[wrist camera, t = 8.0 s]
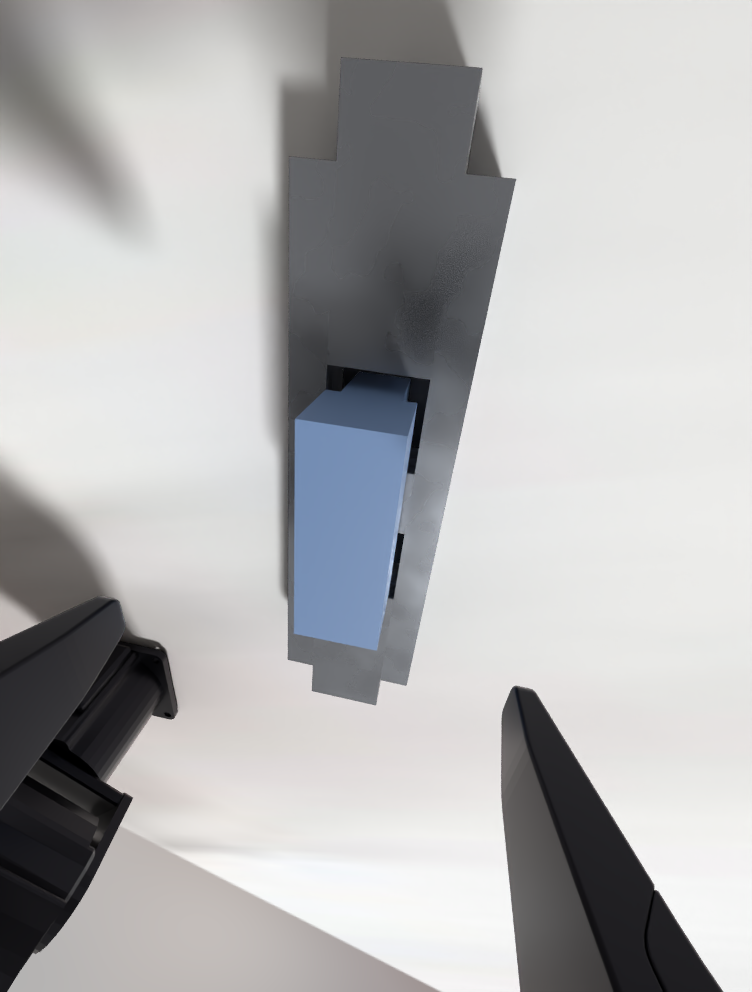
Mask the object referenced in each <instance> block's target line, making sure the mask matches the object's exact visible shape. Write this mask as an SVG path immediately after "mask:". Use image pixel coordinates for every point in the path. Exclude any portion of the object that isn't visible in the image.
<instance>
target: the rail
mask: <svg viewBox="0 0 752 992" xmlns="http://www.w3.org/2000/svg"><path fill="white" fill-rule="evenodd" d="M481 77H482V68H477V67H463V66H450V65H437V64H423V63H410V62H397V61H383V60H370V59H357V58H343V57H341V72H340V94H339V115H338V137H337V158H336V161H331V160H321V159H311V158H301V157H291V156H289V440H288V660H292V661H296V662H301V663H305V664H310V665H313V677H312V691H315V692H319V693H323V694H328V695H332V696H337V697H341V698H346V699H350V700H354V701H359V702H363V703H368V704H372V705H376V702H377V697H378V692H379V686H380V681H381V680H383V681H387V682H392V683H396V684H401V685H405V686H406V685H407V681H408V676H409V671H410V667H411V662H412V658H413V653H414V648H415V644H416V639H417V634H418V630H419V625H420V621H421V616H422V611H423V607H424V602H425V597H426V593H427V588H428V584H429V579H430V574H431V570H432V565H433V560H434V556H435V551H436V547H437V542H438V537H439V533H440V528H441V523H442V519H443V514H444V510H445V505H446V500H447V496H448V491H449V486H450V482H451V477H452V473H453V468H454V463H455V459H456V454H457V449H458V445H459V440H460V436H461V431H462V426H463V422H464V417H465V412H466V408H467V403H468V399H469V394H470V389H471V385H472V380H473V376H474V371H475V366H476V362H477V357H478V352H479V348H480V343H481V339H482V334H483V329H484V325H485V320H486V315H487V311H488V306H489V302H490V297H491V292H492V288H493V283H494V278H495V274H496V269H497V265H498V260H499V255H500V251H501V246H502V241H503V237H504V232H505V228H506V223H507V218H508V214H509V209H510V204H511V200H512V195H513V191H514V186H515V181H516V179H512V178H502V177H492V176H482V175H472V174H466V173H467V167H468V161H469V155H470V149H471V144H472V138H473V132H474V126H475V120H476V114H477V108H478V102H479V93H480V85H481ZM344 367H347V368H354V369H361V370H368V371H374V372H381V373H388V374H395V375H401V376H408V377H415V378H422V379H428V380H430V385H429V391H428V397H427V403H426V409H425V415H424V421H423V427H422V433H421V439H420V445H419V448H415V447H411V449H410V455H409V462H408V469H407V475H406V482H405V489H404V495H403V502H402V509H401V515H400V522H399V529H398V533H401V534H405V535H404V541H403V546H402V552H401V558H400V563H395V562H393V568H392V575H391V582H390V588H389V595H388V599H387V604H386V609H385V614H384V618H383V623H382V628H381V633H380V638H379V642H378V647H377V651H376V650H371V649H366V648H361V647H356V646H351V645H347V644H342V643H337V642H332V641H327V640H322V639H317V638H313V637H308V636H303V635H298V634H294V513H295V418H296V417H297V416H298V415H300V414H301V413H302V412H303V411H304V410H305V409H306V408H307V407H308V406H309V405H310V404H311V403H312V402H313V401H314V400H315V399H316V398H317V397H318V396H319V395H320V394H321V393H323V392H324V391H325V390H332V391H339V392H341V391H342V386H343V371H344Z"/></svg>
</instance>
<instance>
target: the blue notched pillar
mask: <svg viewBox="0 0 752 992" xmlns="http://www.w3.org/2000/svg"><path fill="white" fill-rule="evenodd" d="M410 381H411V379H410V378H403V377H396V376H388V375H381V374H374V373H367V372H360V371H359V372H358V373H357V374H356V375H355V377H354V378H353V379H352V380H351V381H350V382H349V383H348V384H347V385H346V386H345V388H344V389H343V390H342V391H341V392H339V391H332V390H325V391H324V392H323V393H321V394H320V395H319V396H318V397H317V398H316V399H315V400H314V401H313V402H312V403H311V404H310V405H309V406H308V407H307V408H306V409H305V410H304V411H303V412H302V413H301V414H300V415H298V416H297V417H296V418H295V513H294V634H298V635H303V636H308V637H313V638H317V639H322V640H327V641H332V642H337V643H342V644H347V645H351V646H356V647H361V648H366V649H371V650H376V651H377V647H378V642H379V638H380V633H381V628H382V623H383V618H384V614H385V609H386V604H387V599H388V595H389V588H390V582H391V575H392V568H393V562H394V555H395V549H396V542H397V535H398V529H399V522H400V515H401V509H402V502H403V495H404V489H405V482H406V475H407V469H408V462H409V455H410V449H411V442H412V436H413V429H414V422H415V416H416V409H417V403H414V402H408V395H409V388H410Z"/></svg>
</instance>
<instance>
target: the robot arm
mask: <svg viewBox="0 0 752 992" xmlns="http://www.w3.org/2000/svg"><path fill="white" fill-rule="evenodd" d="M124 630H125V620H124V616H123V613H122V609H121V605H120V602H119V601H118V600H117V599H114V598H109V597H105V596H99V597H96V598H94V599H91V600H89V601H87V602H85V603H83V604H81V605H78V606H76V607H74V608H72V609H70V610H68V611H65V612H63V613H61V614H59V615H57V616H55V617H52V618H50V619H48V620H46V621H44V622H41V623H39V624H37V625H35V626H33V627H31V628H28V629H26V630H24V631H22V632H20V633H18V634H15V635H13V636H11V637H9V638H7V639H5V640H2V641H0V992H7V991H8V989H9V988H10V986H11V985H12V983H13V981H14V980H15V978H16V976H17V975H18V973H19V971H20V970H21V969H22V967H23V966H24V965H25V963H26V962H27V960H28V959H29V957H30V956H31V954H32V953H35V954H36V953H38V952H40V951H41V950H42V949H44V948H45V947H46V946H47V945H48V944H49V943H50V942H51V940H52V939H53V938H54V937H55V936H56V935H57V933H58V932H59V931H60V930H61V928H62V927H63V926H64V924H65V923H66V922H67V920H68V919H69V917H70V916H71V914H72V913H73V912H74V910H75V908H76V907H77V905H78V904H79V902H80V901H81V899H82V897H83V896H84V894H85V892H86V891H87V889H88V887H89V885H90V883H91V881H92V879H93V878H94V876H95V874H96V872H97V869H98V868H99V866H100V864H101V861H102V859H103V857H104V856H105V853H106V851H107V849H108V847H109V845H110V843H111V841H112V839H113V837H114V835H115V833H116V831H117V829H118V827H119V825H120V823H121V821H122V819H123V817H124V815H125V813H126V811H127V809H128V807H129V805H130V803H131V801H132V799H133V797H131V796H130V795H128V794H126V793H123V794H122V793H121V792H119V791H118V790H116V789H114V788H113V787H111V786H110V785H108V784H106V782H107V780H108V779H109V778H110V776H111V775H112V773H113V772H114V770H115V769H116V767H117V766H118V764H119V763H120V761H121V760H122V758H123V757H124V755H125V754H126V753H127V751H128V750H129V748H130V747H131V745H132V744H133V742H134V741H135V739H136V738H137V736H138V735H139V733H140V732H141V730H142V729H143V728H144V726H145V725H146V723H147V722H148V720H149V719H150V717H151V716H152V715H153V716H158V717H162V718H166V719H174V718H175V716H176V714H177V713H178V710H177V705H176V700H175V695H174V690H173V685H172V680H171V676H170V671H169V666H168V661H167V657H166V655H165V654H164V653H163V652H162V651H159V650H156V649H151V648H147V647H142V646H138V645H133V644H129V643H124V642H120V641H119V640H120V639H121V637H122V635H123V633H124ZM501 798H502V811H503V822H504V832H505V842H506V852H507V862H508V872H509V882H510V892H511V902H512V912H513V922H514V932H515V942H516V952H517V963H518V973H519V983H520V992H723V991H722V989H721V988H720V986H719V985H718V983H717V982H716V980H715V979H714V978H713V976H712V975H711V973H710V972H709V970H708V969H707V967H706V966H705V964H704V963H703V961H702V960H701V958H700V957H699V955H698V953H697V952H696V950H695V949H694V947H693V946H692V944H691V943H690V941H689V939H688V938H687V936H686V935H685V933H684V932H683V930H682V928H681V927H680V925H679V924H678V922H677V921H676V919H675V917H674V916H673V914H672V913H671V911H670V909H669V908H668V906H667V904H666V903H665V901H664V900H663V898H662V896H661V895H660V893H659V892H658V891H657V890H654V884H653V882H652V880H651V879H650V877H649V876H648V874H647V872H646V871H645V869H644V867H643V866H642V864H641V863H640V861H639V859H638V858H637V856H636V854H635V853H634V851H633V850H632V848H631V846H630V845H629V843H628V842H627V840H626V838H625V837H624V835H623V833H622V832H621V830H620V829H619V827H618V825H617V824H616V822H615V820H614V819H613V817H612V816H611V814H610V812H609V811H608V809H607V807H606V806H605V804H604V803H603V801H602V799H601V798H600V796H599V794H598V793H597V791H596V790H595V788H594V786H593V785H592V783H591V782H590V780H589V778H588V777H587V775H586V773H585V772H584V770H583V769H582V767H581V765H580V764H579V762H578V760H577V759H576V757H575V756H574V754H573V752H572V751H571V749H570V747H569V746H568V744H567V743H566V741H565V739H564V738H563V736H562V734H561V733H560V731H559V730H558V728H557V726H556V725H555V723H554V722H553V720H552V718H551V717H550V715H549V713H548V712H547V710H546V709H545V707H544V705H543V704H542V702H541V700H540V699H539V697H538V696H537V694H536V693H535V691H533V690H532V689H529V688H525V687H520V686H514V687H513V688H512V689H511V691H510V694H509V696H508V698H507V701H506V703H505V706H504V708H503V712H502V745H501Z"/></svg>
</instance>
